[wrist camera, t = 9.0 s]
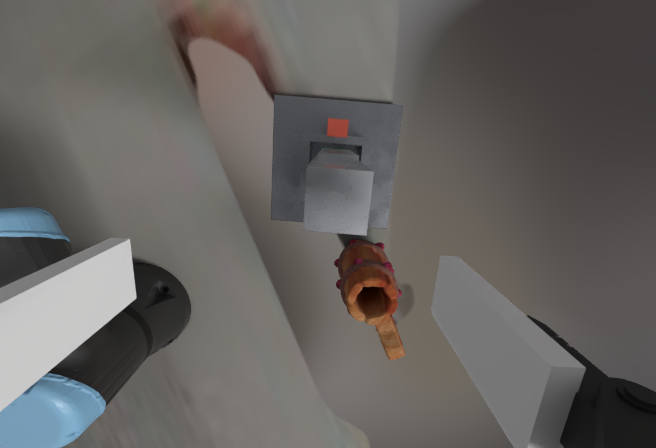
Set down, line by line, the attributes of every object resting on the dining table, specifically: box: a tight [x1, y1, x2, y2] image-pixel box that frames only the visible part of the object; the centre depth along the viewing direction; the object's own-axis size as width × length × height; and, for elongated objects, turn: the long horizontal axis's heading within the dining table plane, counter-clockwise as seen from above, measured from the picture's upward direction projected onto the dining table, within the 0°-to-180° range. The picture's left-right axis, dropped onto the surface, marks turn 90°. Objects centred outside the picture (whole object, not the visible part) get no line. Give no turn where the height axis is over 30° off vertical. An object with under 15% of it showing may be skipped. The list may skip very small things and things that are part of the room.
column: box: [303, 148, 374, 236], centre depth 28 cm, size 4×5×20 cm
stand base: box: [271, 95, 403, 229], centre depth 41 cm, size 18×18×9 cm
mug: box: [334, 239, 405, 360], centre depth 43 cm, size 15×8×15 cm, turn 23°
